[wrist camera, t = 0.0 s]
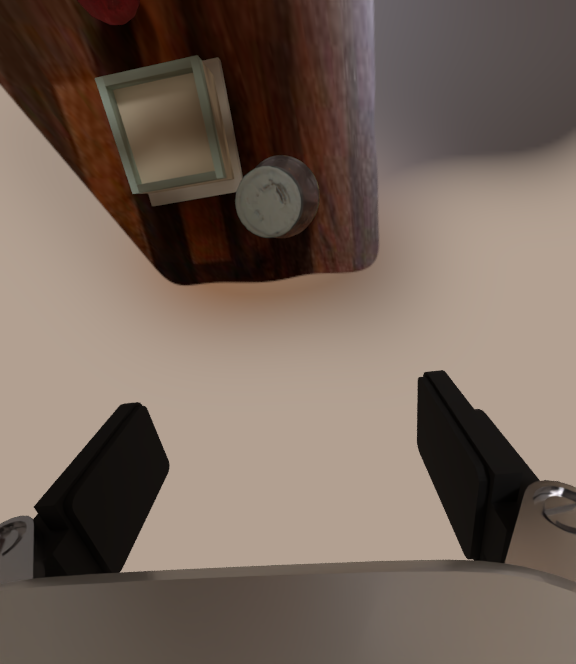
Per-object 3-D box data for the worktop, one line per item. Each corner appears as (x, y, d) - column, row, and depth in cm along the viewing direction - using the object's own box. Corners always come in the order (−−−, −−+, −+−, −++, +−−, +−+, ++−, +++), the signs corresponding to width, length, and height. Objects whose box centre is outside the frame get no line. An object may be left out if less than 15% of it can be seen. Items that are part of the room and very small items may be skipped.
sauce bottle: (319, 164, 35) (335, 139, 17) (317, 224, 38) (329, 256, 20) (260, 165, 35) (215, 140, 17) (262, 223, 38) (225, 255, 20)
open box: (118, 83, 33) (80, 61, 27) (220, 61, 32) (202, 33, 26) (155, 206, 38) (129, 209, 32) (245, 190, 37) (234, 190, 31)
